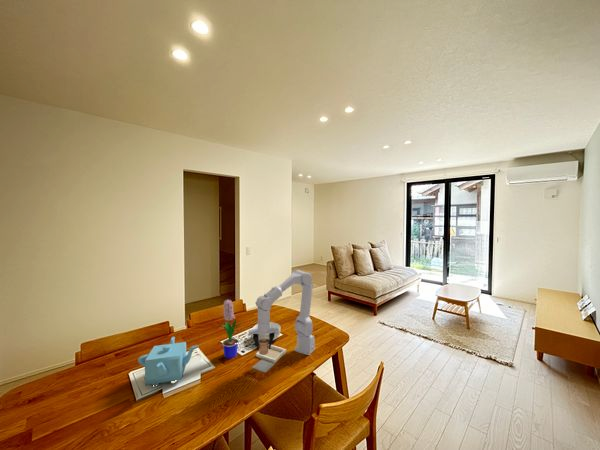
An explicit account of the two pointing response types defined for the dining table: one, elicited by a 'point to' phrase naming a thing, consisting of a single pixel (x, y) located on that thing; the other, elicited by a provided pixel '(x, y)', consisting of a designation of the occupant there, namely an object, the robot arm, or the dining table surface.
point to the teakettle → (165, 362)
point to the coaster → (263, 365)
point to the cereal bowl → (272, 325)
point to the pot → (263, 345)
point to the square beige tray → (272, 354)
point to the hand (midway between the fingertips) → (263, 348)
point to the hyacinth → (229, 331)
